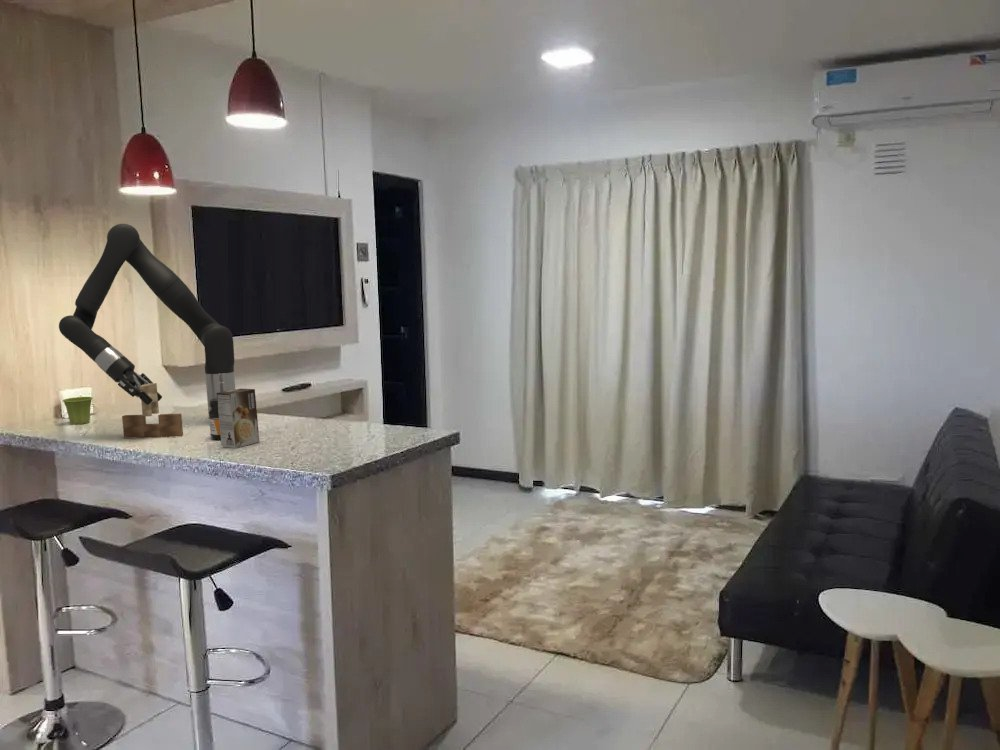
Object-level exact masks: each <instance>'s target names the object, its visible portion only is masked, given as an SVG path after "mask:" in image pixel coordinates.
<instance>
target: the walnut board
mask: <svg viewBox="0 0 1000 750" xmlns="http://www.w3.org/2000/svg"><path fill="white" fill-rule="evenodd" d="M157 417H158V419H157V420H158V423H147V419H146V418H147V416H142V414H124V415H122V416H121V420H122V421H121V422H122V429H123V430H122V432H123V439H126V438H125V437H151V438H170V437H169V436H181V437H183V436H184V430H183V429H184V428H183V417H182V413H159V414H157ZM182 435H183V436H182ZM166 436H167V437H166Z"/></svg>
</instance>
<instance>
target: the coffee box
mask: <svg viewBox="0 0 1000 750" xmlns="http://www.w3.org/2000/svg"><path fill="white" fill-rule="evenodd" d="M217 402H218V413H219V424H220V435H221V440H220V443H221V444H220V445H221V447H222V446H223V447H222V448H229V447H230V448H231V449H237V448H238V447H239V448H242V447H245V446H249V445H252V444H253V445H254V444H257V443H260V434H259V431H260V430H259V420H258V409H257V398H256V389H255V388H235V390H229V391H224V392H219V393H217Z"/></svg>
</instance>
